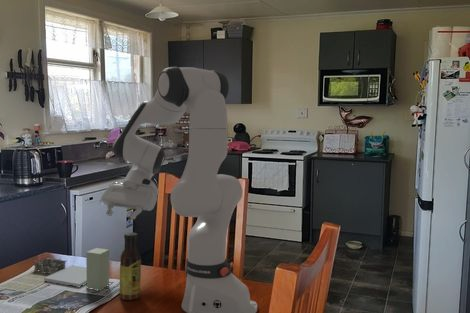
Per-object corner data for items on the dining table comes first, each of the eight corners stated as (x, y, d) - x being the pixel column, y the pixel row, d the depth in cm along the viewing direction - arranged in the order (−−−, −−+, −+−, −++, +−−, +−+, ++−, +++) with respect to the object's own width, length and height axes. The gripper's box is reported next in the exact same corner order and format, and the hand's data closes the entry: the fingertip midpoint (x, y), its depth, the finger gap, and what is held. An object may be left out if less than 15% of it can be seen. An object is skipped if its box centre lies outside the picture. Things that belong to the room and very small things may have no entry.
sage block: (108, 285, 151) (109, 249, 150) (99, 290, 146) (99, 254, 145) (96, 283, 153) (96, 247, 152) (86, 288, 148) (86, 252, 147)
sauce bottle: (135, 302, 138) (135, 237, 137) (115, 300, 140) (116, 236, 138) (143, 294, 145) (144, 232, 143) (125, 292, 146) (125, 230, 144)
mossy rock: (30, 271, 163) (30, 259, 163) (48, 265, 170) (48, 254, 170) (52, 276, 158) (51, 264, 158) (69, 270, 165) (68, 258, 165)
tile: (105, 273, 162) (105, 270, 162) (79, 287, 148) (79, 284, 148) (72, 268, 166) (72, 265, 166) (44, 281, 153) (44, 277, 153)
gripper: (108, 176, 169) (91, 208, 161) (157, 182, 162) (142, 214, 154) (114, 187, 174) (98, 217, 166) (163, 192, 167) (148, 224, 159)
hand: (120, 216), depth 160 cm, fingers open, 8 cm apart
